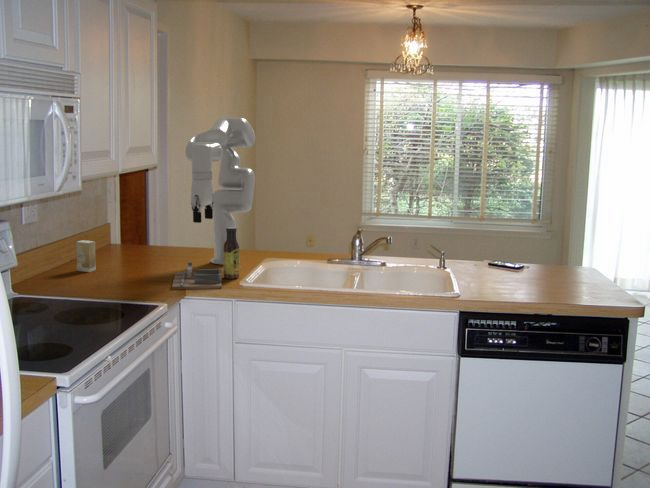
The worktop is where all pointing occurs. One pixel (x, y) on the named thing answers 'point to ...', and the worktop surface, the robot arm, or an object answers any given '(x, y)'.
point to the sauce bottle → (231, 255)
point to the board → (198, 279)
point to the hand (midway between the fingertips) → (203, 220)
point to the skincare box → (86, 256)
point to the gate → (189, 270)
